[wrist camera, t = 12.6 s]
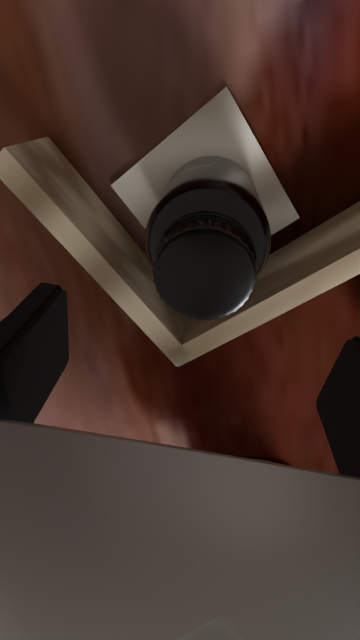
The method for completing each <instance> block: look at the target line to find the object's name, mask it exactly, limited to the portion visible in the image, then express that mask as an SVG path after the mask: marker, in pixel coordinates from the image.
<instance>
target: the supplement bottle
mask: <svg viewBox="0 0 360 640" xmlns="http://www.w3.org/2000/svg"><path fill="white" fill-rule="evenodd" d="M270 247H271V232H270V226H269V222H268V219H267V216H266V213H265V211H264V208H263V206H262V203H261V200H260V198H259V195H258V193H257V190H256V188H255V185H254V183H253V181H252V179H251V178H250V176H249V175H248V173H247V172H246V171H245V170H244V169H243V168H242V167H241V166H240V165H238V164H237V163H235V162H234V161H232V160H230V159H227V158H224V157H220V156H203V157H199V158H195V159H193V160H191V161H189V162H187V163H186V164H184V165H183V166H182V167H180V168H179V169H178V170H177V171H176V172H175V173H174V175H173V176H172V177H171V179H170V180H169V182H168V184H167V186H166V187H165V189H164V191H163V193H162V194H161V196H160V198H159V200H158V201H157V203H156V205H155V207H154V209H153V211H152V213H151V215H150V217H149V220H148V223H147V226H146V231H145V251H146V256H147V259H148V262H149V265H150V267H151V269H152V273H153V276H154V278H153V282H154V284H155V285H156V291H157V292H158V293H159V294H160V298H161V299H162V300H163V301H165V304H166V305H167V306H168V307H171V308H172V310H173V311H174V312H178V313H179V314H180V315H181V316H187V317H188V318H190V319H197V320H209V321H210V320H212V319H220V318H222V317H226V316H229V315H230V314H231V313H234V312H237V310H238V309H239V308H240V307H243V306H244V305H245V302H246V301H248V300H249V299H250V296H251V294H252V293H253V292H254V290H255V284H256V283H257V278H258V276H259V275H260V274H261V272H262V271H263V269H264V267H265V265H266V262H267V260H268V257H269V253H270Z"/></svg>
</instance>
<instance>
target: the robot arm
mask: <svg viewBox="0 0 360 640" xmlns="http://www.w3.org/2000/svg"><path fill="white" fill-rule="evenodd" d="M68 359H69V343H68V316H67V294H66V291H63V290H62V289H61V287H60V285H54V284H48V283H40V284H39V285H38V286H37V287H36V288H35V289H34V290H33V291H32V292H31V293H30V294H29V295H28V296H27V297H26V298H25V299H24V300H23V301H22V302H21V303H20V304H19V305H18V306H17V307H16V308H15V309H14V310H13V311H12V312H11V313H10V314H9V315H8V316H7V317H6V318H4V319H3V320H2V321H1V322H0V640H360V337H358V336H356V337H354V338H352V340H347V341H346V343H345V344H344V346H343V348H342V350H341V352H340V354H339V356H338V358H337V360H336V362H335V364H334V366H333V368H332V370H331V372H330V374H329V376H328V378H327V380H326V382H325V384H324V386H323V388H322V390H321V392H320V393H319V395H318V398H317V402H316V406H317V410H318V413H319V416H320V419H321V422H322V424H323V427H324V430H325V433H326V436H327V439H328V442H329V445H330V448H331V451H332V454H333V456H334V459H335V462H336V465H337V468H338V471H339V474H335V473H330V472H324V471H318V470H312V469H307V468H301V467H295V466H289V465H284V464H278V463H274V462H271V461H267V460H261V459H249V458H243V457H237V456H231V455H225V454H219V453H214V452H208V451H202V450H196V449H190V448H184V447H178V446H172V445H166V444H160V443H154V442H148V441H142V440H135V439H129V438H123V437H117V436H111V435H105V434H99V433H93V432H86V431H80V430H74V429H68V428H61V427H55V426H48V425H42V424H35V423H33V422H34V421H35V419H36V417H37V416H38V414H39V412H40V410H41V409H42V407H43V405H44V403H45V402H46V400H47V398H48V397H49V395H50V393H51V391H52V390H53V388H54V386H55V384H56V383H57V381H58V379H59V377H60V376H61V374H62V372H63V371H64V369H65V367H66V365H67V363H68Z"/></svg>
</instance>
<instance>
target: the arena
mask: <svg viewBox="0 0 360 640" xmlns="http://www.w3.org/2000/svg"><path fill="white" fill-rule="evenodd" d="M203 156H220V157H224V158H227V159H230V160H232V161H234V162H235V163H237V164H238V165H240V166H241V167H242V168H243V169H244V170H245V171H246V172H247V173H248V175H249V176H250V178H251V179H252V181H253V183H254V185H255V188H256V190H257V193H258V195H259V198H260V200H261V203H262V206H263V208H264V211H265V213H266V216H267V219H268V222H269V226H270V232H271V235H273V234H275V233H276V232H278V231H279V230H281V229H283V228H284V227H286V226H287V225H289V224H291V223H292V222H294V221H295V220H297V219H299V218H300V217H299V216H298V214H297V212H296V210H295V208H294V207H293V205H292V203H291V201H290V199H289V198H288V196H287V194H286V192H285V190H284V189H283V187H282V185H281V183H280V181H279V180H278V178H277V176H276V174H275V172H274V171H273V169H272V167H271V165H270V163H269V162H268V160H267V158H266V156H265V154H264V153H263V151H262V149H261V147H260V145H259V144H258V142H257V140H256V138H255V136H254V135H253V133H252V131H251V129H250V127H249V126H248V124H247V122H246V120H245V118H244V117H243V115H242V113H241V111H240V109H239V108H238V106H237V104H236V102H235V100H234V99H233V97H232V95H231V93H230V91H229V90H228V88H227V86H226V87H225V88H224V89H223V90H222V91H221V92H219V93H218V94H217V95H216V96H215V97H213V98H212V99H211V100H210V101H209V102H208V103H206V104H205V105H204V106H203V107H202V108H201V109H199V110H198V111H197V112H196V113H195V114H194V115H192V116H191V117H190V118H189V119H188V120H187V121H185V122H184V123H183V124H182V125H181V126H180V127H178V128H177V129H176V130H175V131H174V132H173V133H171V134H170V135H169V136H168V137H167V138H166V139H164V140H163V141H162V142H161V143H160V144H159V145H157V146H156V147H155V148H154V149H153V150H152V151H150V152H149V153H148V154H147V155H146V156H145V157H143V158H142V159H141V160H140V161H139V162H138V163H136V164H135V165H134V166H133V167H132V168H130V169H129V170H128V171H127V172H126V173H125V174H123V175H122V176H121V177H120V178H119V179H118V180H116V181H115V182H114V183H113V184H112V185H111V187H112V188H113V189H114V191H115V192H116V193H117V194H118V196H119V197H120V198H121V199H122V201H123V202H124V203H125V204H126V206H127V207H128V208H129V209H130V211H131V212H132V213H133V214H134V216H135V217H136V218H137V219H138V221H139V222H140V223H141V225H142V226H143V227H144V228H145V230H146V226H147V223H148V220H149V217H150V215H151V213H152V211H153V209H154V207H155V205H156V203H157V201H158V200H159V198H160V196H161V194H162V193H163V191H164V189H165V187H166V186H167V184H168V182H169V180H170V179H171V177H172V176H173V175H174V173H175V172H176V171H177V170H178V169H179V168H180V167H182V166H183V165H184V164H186V163H187V162H189V161H191V160H193V159H195V158H199V157H203ZM0 179H1V180H2V182H3V183H4V184H5V185H6V186H7V187H8V188H9V189H10V190H11V191H12V192H13V193H14V194H15V195H16V196H17V197H18V199H19V200H20V201H21V202H22V203H23V204H24V205H25V206H26V207H27V208H28V209H29V210H30V211H31V212H32V213H33V215H34V216H35V217H36V218H37V219H38V220H39V221H40V222H41V223H42V224H43V225H44V226H45V227H46V228H47V229H48V230H49V232H50V233H51V234H52V235H53V236H54V237H55V238H56V239H57V240H58V241H59V242H60V243H61V244H62V245H63V246H64V248H65V249H66V250H67V251H68V252H69V253H70V254H71V255H72V256H73V257H74V258H75V259H76V260H77V261H78V262H79V264H80V265H81V266H82V267H83V268H84V269H85V270H86V271H87V272H88V273H89V274H90V275H91V276H92V277H93V278H94V279H95V281H96V282H97V283H98V284H99V285H100V286H101V287H102V288H103V289H104V290H105V291H106V292H107V293H108V294H109V295H110V297H111V298H112V299H113V300H114V301H115V302H116V303H117V304H118V305H119V306H120V307H121V308H122V309H123V310H124V311H125V312H126V314H127V315H128V316H129V317H130V318H131V319H132V320H133V321H134V322H135V323H136V324H137V325H138V326H139V327H140V328H141V330H142V331H143V332H144V333H145V334H146V335H147V336H148V337H149V338H150V339H151V340H152V341H153V342H154V343H155V344H156V345H157V347H158V348H159V349H160V350H161V351H162V352H163V353H164V354H165V355H166V356H167V357H168V358H169V359H170V360H171V361H172V363H173V364H174V365H175V366H176V367H177V366H178V367H180V366H182V365H183V364H185V363H187V362H189V361H191V360H193V359H195V358H197V357H199V356H201V355H203V354H205V353H207V352H209V351H211V350H213V349H215V348H217V347H218V346H220V345H222V344H224V343H226V342H228V341H230V340H232V339H234V338H236V337H238V336H240V335H242V334H244V333H246V332H248V331H250V330H252V329H253V328H255V327H257V326H259V325H261V324H263V323H265V322H267V321H269V320H271V319H273V318H275V317H277V316H279V315H281V314H283V313H285V312H286V311H288V310H290V309H292V308H294V307H296V306H298V305H300V304H302V303H304V302H306V301H308V300H310V299H312V298H314V297H316V296H318V295H320V294H321V293H323V292H325V291H327V290H329V289H331V288H333V287H335V286H337V285H339V284H341V283H343V282H345V281H347V280H349V279H351V278H353V277H355V276H356V275H358V274H360V201H359V202H357V203H356V204H354V205H352V206H351V207H349V208H347V209H346V210H344V211H342V212H341V213H339V214H337V215H336V216H334V217H332V218H331V219H329V220H327V221H326V222H324V223H322V224H321V225H319V226H317V227H315V228H314V229H312V230H310V231H309V232H307V233H305V234H304V235H302V236H300V237H299V238H297V239H295V240H294V241H292V242H290V243H289V244H287V245H285V246H284V247H282V248H280V249H279V250H277V251H275V252H274V253H272V254H270V255H269V257H268V260H267V262H266V265H265V267H264V269H263V271H262V272H261V274H260V275H259V276H258V278H257V283H256V284H255V290H254V292H253V293H252V294H251V296H250V299H249V300H248V301H246V302H245V305H244V306H243V307H240V308H239V309H238V310H237V312H234V313H231V314H230V315H229V316H226V317H222V318H220V319H212V320H210V321H209V320H197V319H190V318H188V317H187V316H181V315H180V314H179V313H178V312H174V311H173V310H172V308H171V307H168V306H167V305H166V304H165V301H163V300H162V299H161V298H160V294H159V293H158V292H157V291H156V285H155V284H154V282H153V278H154V276H153V273H152V269H151V267H150V265H149V262H148V259H147V256H146V255H145V253H144V252H143V251H142V250H141V248H140V247H139V246H138V245H137V244H136V242H135V241H134V240H133V239H132V238H131V236H130V235H129V234H128V233H127V232H126V230H125V229H124V228H123V227H122V225H121V224H120V223H119V222H118V221H117V219H116V218H115V217H114V216H113V215H112V213H111V212H110V211H109V210H108V208H107V207H106V206H105V205H104V204H103V202H102V201H101V200H100V199H99V198H98V196H97V195H96V194H95V193H94V191H93V190H92V189H91V188H90V187H89V185H88V184H87V183H86V182H85V181H84V179H83V178H82V177H81V176H80V175H79V173H78V172H77V171H76V170H75V168H74V167H73V166H72V165H71V164H70V162H69V161H68V160H67V159H66V158H65V156H64V155H63V154H62V153H61V151H60V150H59V149H58V148H57V147H56V145H55V144H54V143H53V142H52V141H51V139H50V138H49V137H44V138H40V139H36V140H32V141H28V142H24V143H20V144H15V145H11V146H7V147H4V148H3V149H2V150H1V151H0Z"/></svg>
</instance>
